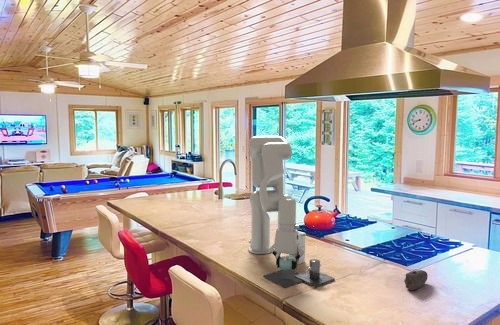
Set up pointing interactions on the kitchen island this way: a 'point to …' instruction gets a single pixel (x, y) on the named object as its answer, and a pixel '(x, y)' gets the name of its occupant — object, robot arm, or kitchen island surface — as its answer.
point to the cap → (285, 262)
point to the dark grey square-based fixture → (314, 275)
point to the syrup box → (302, 246)
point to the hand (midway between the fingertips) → (286, 267)
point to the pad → (283, 278)
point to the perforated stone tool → (415, 279)
